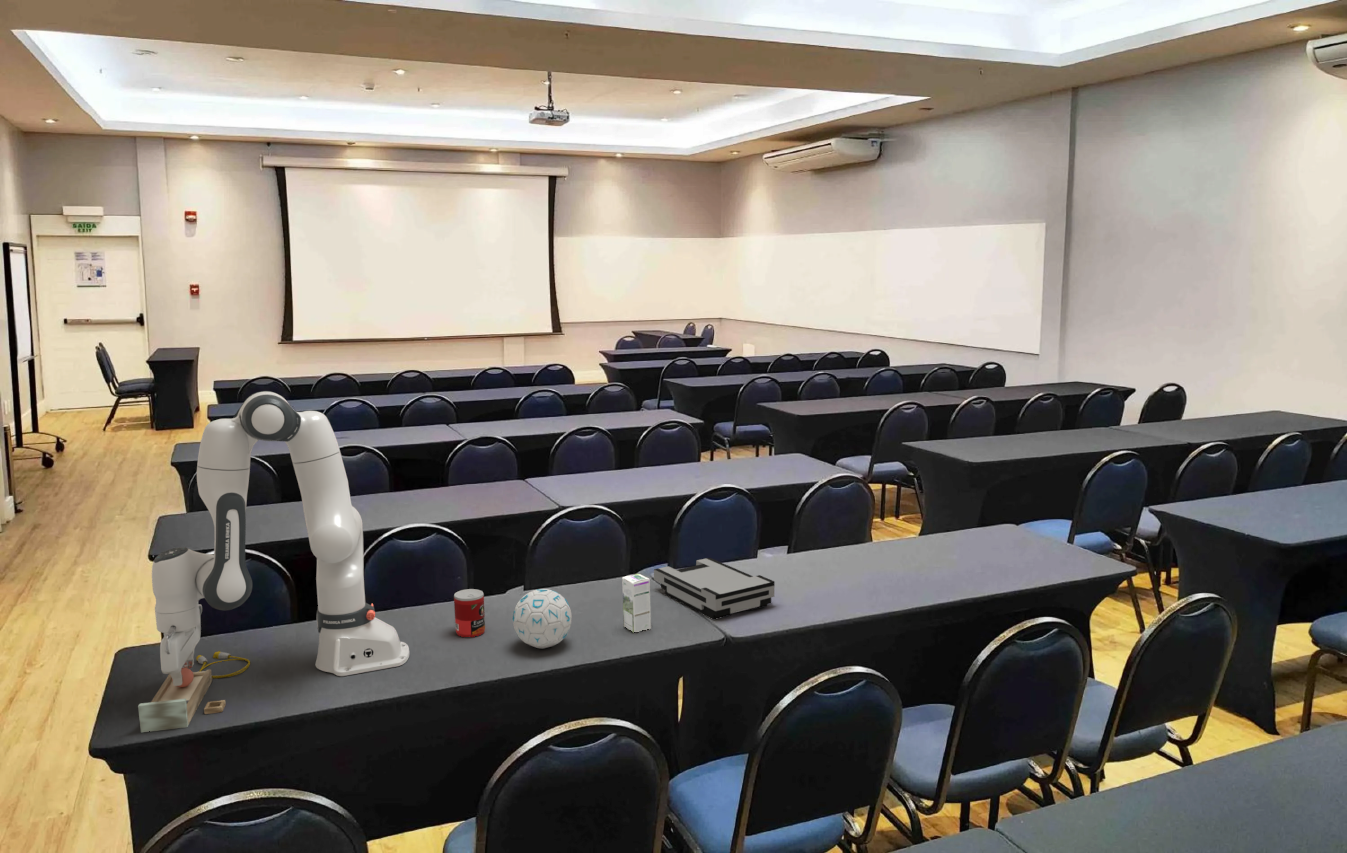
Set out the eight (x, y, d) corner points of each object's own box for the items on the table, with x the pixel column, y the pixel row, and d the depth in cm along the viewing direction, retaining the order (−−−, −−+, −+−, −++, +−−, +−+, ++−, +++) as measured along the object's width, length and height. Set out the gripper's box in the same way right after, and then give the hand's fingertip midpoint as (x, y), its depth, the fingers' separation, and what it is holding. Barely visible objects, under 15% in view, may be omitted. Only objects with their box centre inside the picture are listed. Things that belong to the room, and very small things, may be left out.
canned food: (476, 639, 247) (474, 599, 246) (449, 636, 250) (448, 596, 248) (490, 629, 255) (489, 590, 253) (465, 625, 257) (463, 587, 255)
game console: (709, 578, 295) (709, 553, 294) (774, 608, 269) (774, 581, 268) (654, 591, 284) (653, 565, 283) (715, 623, 258) (715, 595, 256)
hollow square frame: (225, 704, 211) (225, 699, 211) (222, 712, 208) (221, 707, 207) (208, 706, 210) (207, 701, 210) (204, 714, 207) (204, 709, 207)
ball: (196, 678, 219) (194, 662, 217) (192, 690, 215) (189, 674, 214) (176, 680, 218) (173, 664, 216) (171, 692, 214) (168, 676, 212)
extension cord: (249, 651, 242) (248, 644, 241) (251, 675, 228) (250, 667, 227) (196, 660, 237) (195, 653, 236) (195, 685, 223) (194, 677, 222)
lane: (212, 681, 224) (210, 657, 223) (187, 727, 201) (184, 700, 200) (170, 685, 221) (168, 661, 220) (140, 732, 199) (138, 706, 198)
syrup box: (651, 629, 254) (651, 577, 251) (633, 634, 250) (632, 582, 248) (640, 622, 258) (639, 572, 256) (622, 627, 255) (621, 576, 253)
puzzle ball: (576, 653, 238) (574, 597, 235) (516, 660, 234) (514, 603, 232) (567, 631, 252) (566, 578, 250) (511, 637, 249) (509, 583, 246)
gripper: (181, 634, 205) (187, 693, 207) (203, 602, 224) (208, 657, 227) (149, 637, 203) (156, 696, 206) (174, 605, 223) (180, 659, 225)
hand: (183, 675), depth 216 cm, fingers open, 8 cm apart
